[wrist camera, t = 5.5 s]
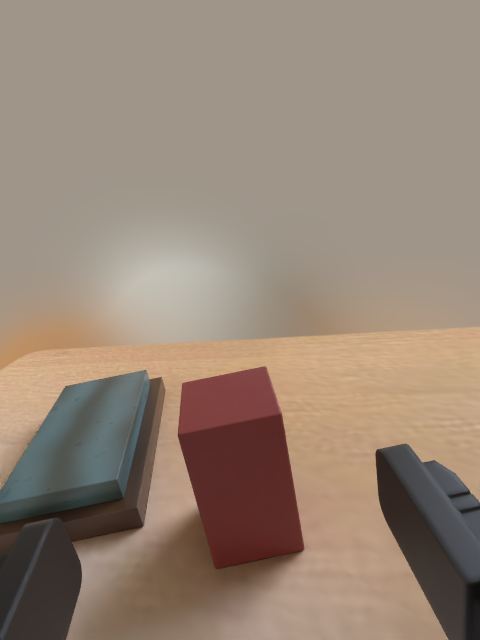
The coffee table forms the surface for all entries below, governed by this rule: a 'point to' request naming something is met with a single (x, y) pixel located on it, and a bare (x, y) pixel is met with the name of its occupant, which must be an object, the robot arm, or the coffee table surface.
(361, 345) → the coffee table surface
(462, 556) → the robot arm
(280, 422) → the pillar block
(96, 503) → the blue-grey flat block
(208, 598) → the coffee table surface
